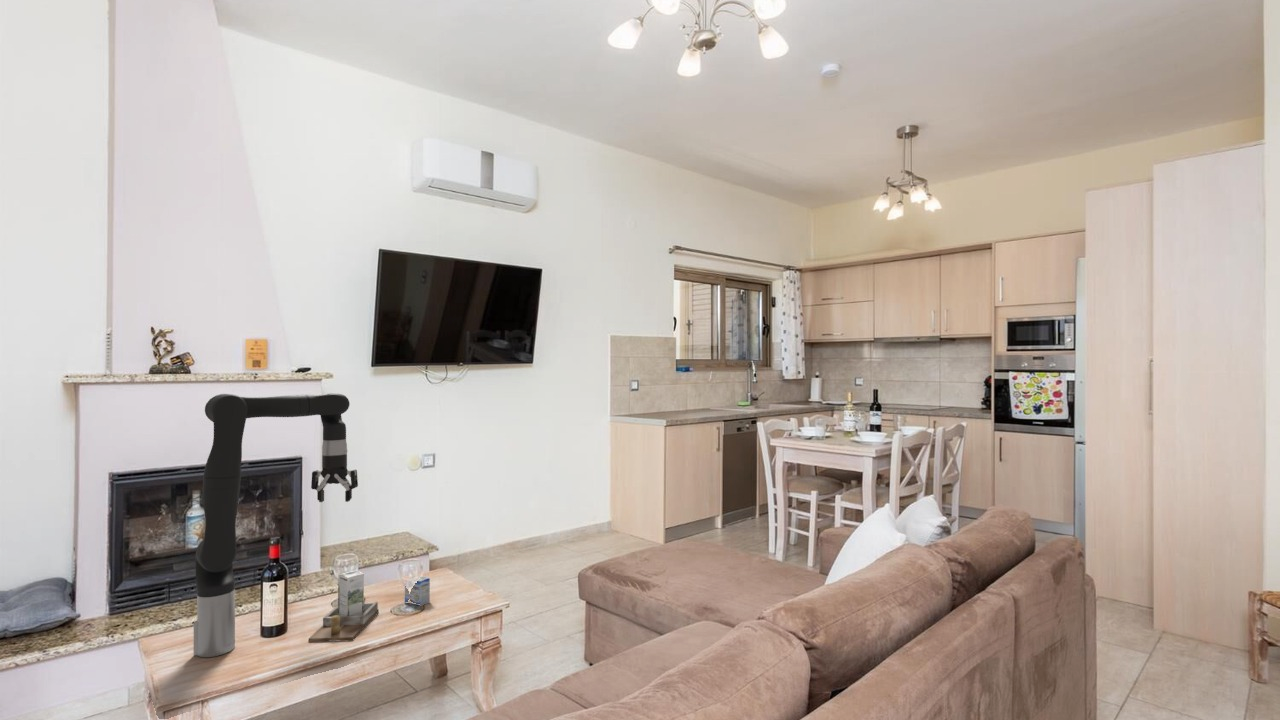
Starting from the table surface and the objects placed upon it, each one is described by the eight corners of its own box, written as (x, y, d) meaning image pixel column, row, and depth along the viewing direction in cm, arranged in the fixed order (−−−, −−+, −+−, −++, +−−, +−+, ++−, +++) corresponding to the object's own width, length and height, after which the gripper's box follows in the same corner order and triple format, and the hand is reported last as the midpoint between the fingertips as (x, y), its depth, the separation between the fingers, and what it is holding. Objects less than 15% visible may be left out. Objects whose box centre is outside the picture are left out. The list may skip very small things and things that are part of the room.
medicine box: (404, 602, 220) (404, 578, 221) (414, 598, 224) (414, 574, 224) (420, 606, 217) (420, 581, 217) (430, 602, 221) (430, 577, 221)
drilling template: (308, 641, 189) (308, 622, 189) (339, 613, 211) (339, 595, 211) (352, 640, 190) (352, 620, 190) (378, 612, 212) (378, 594, 212)
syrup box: (354, 612, 209) (354, 569, 209) (364, 616, 206) (364, 572, 206) (337, 618, 204) (337, 574, 204) (347, 622, 201) (347, 577, 201)
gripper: (307, 455, 206) (307, 504, 205) (351, 454, 206) (352, 503, 206) (317, 451, 213) (318, 499, 213) (360, 451, 214) (360, 498, 214)
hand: (334, 501), depth 210 cm, fingers open, 8 cm apart
